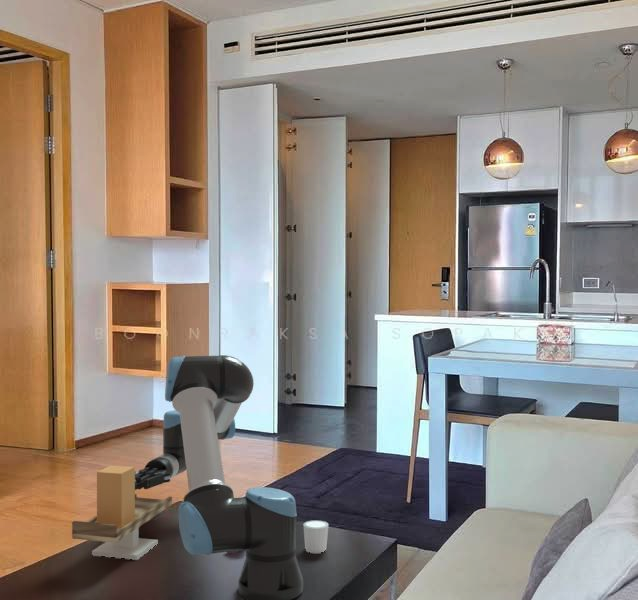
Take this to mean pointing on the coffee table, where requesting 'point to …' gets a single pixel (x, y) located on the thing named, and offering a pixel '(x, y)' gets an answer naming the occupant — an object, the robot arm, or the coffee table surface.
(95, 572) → the coffee table surface
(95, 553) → the pivot stand
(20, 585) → the coffee table surface
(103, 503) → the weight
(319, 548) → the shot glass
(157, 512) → the beam
